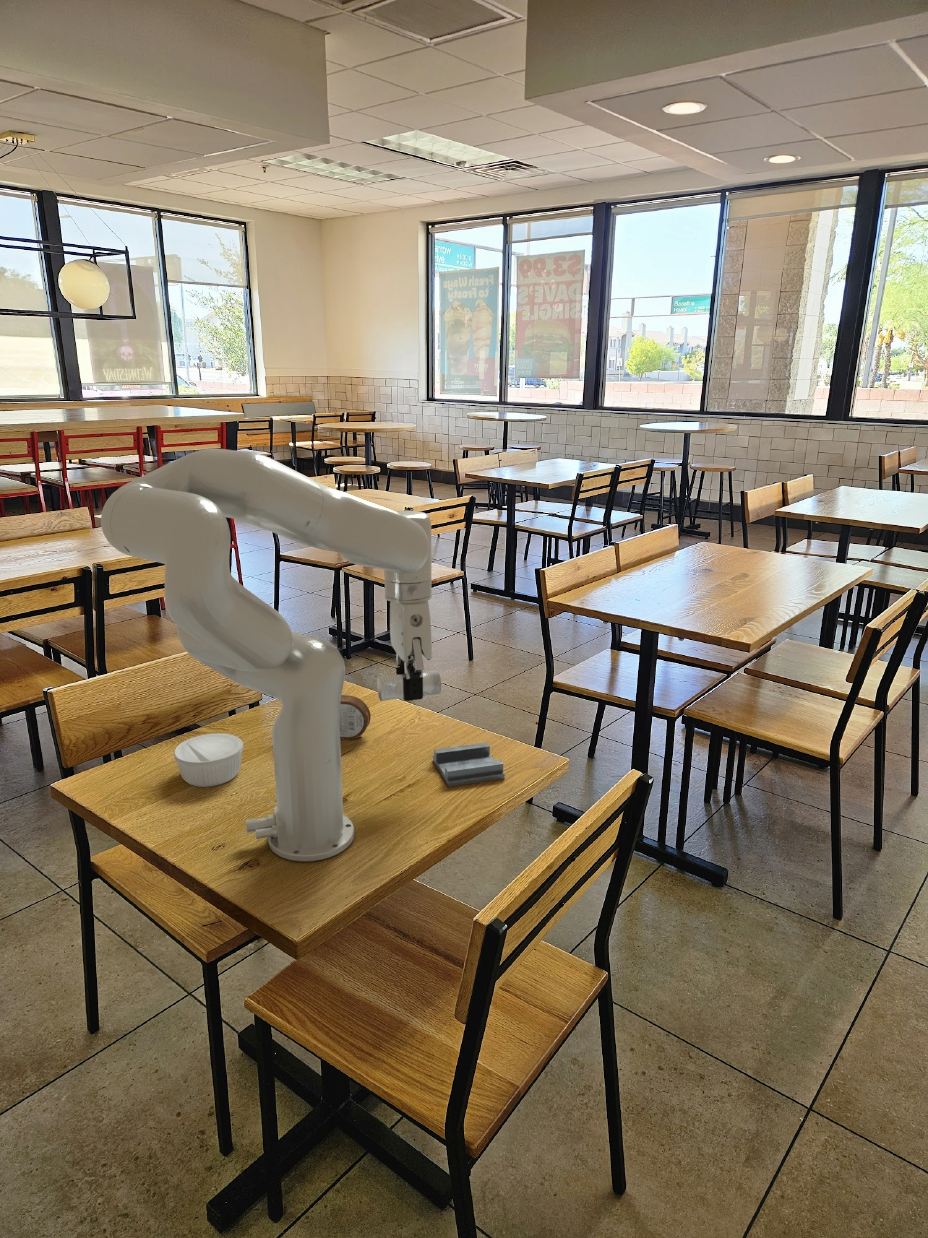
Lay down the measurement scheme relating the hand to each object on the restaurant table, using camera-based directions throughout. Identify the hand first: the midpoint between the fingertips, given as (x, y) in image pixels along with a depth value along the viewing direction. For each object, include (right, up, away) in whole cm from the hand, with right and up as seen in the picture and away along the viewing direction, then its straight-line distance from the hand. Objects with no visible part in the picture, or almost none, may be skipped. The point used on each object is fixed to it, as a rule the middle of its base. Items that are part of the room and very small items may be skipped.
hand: (409, 693), depth 135 cm
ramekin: (-34, -15, +4) cm, 38 cm away
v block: (+10, -14, +7) cm, 18 cm away
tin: (-16, -10, +19) cm, 27 cm away
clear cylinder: (0, -1, 0) cm, 1 cm away
